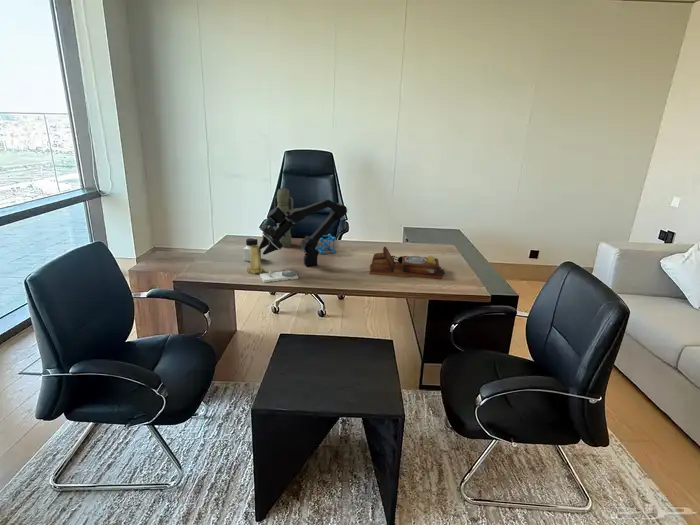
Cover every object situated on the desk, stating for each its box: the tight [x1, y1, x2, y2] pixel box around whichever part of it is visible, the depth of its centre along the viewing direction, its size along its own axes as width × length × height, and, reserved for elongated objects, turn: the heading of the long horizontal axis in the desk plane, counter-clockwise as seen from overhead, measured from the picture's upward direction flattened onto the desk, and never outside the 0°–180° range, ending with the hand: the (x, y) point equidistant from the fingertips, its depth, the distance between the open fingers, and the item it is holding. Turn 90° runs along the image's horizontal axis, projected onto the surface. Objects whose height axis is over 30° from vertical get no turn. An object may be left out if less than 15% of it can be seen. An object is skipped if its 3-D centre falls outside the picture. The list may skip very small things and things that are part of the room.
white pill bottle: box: [243, 237, 262, 262], centre depth 228 cm, size 7×7×12 cm
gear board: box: [259, 269, 299, 283], centre depth 205 cm, size 17×9×4 cm, turn 113°
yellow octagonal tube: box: [246, 245, 265, 275], centre depth 211 cm, size 8×8×13 cm
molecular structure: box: [315, 233, 337, 255], centre depth 248 cm, size 10×10×10 cm
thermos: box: [273, 187, 294, 248], centre depth 254 cm, size 9×12×35 cm
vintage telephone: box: [368, 246, 446, 280], centre depth 223 cm, size 24×12×40 cm
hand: (261, 251), depth 211 cm, fingers open, 9 cm apart
